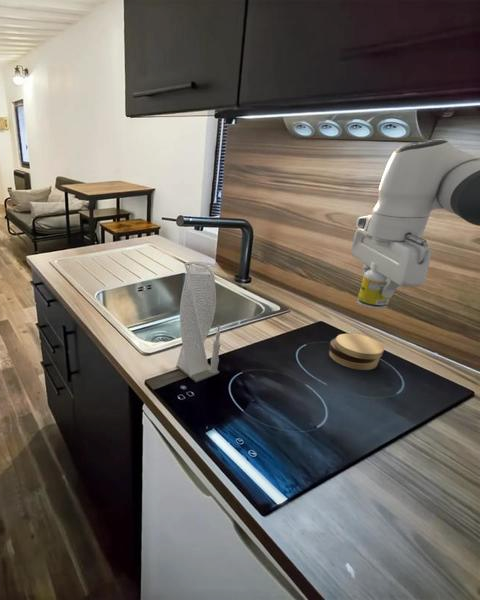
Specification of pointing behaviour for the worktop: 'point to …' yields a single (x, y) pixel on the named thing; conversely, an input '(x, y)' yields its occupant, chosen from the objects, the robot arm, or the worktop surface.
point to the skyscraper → (198, 321)
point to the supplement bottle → (373, 289)
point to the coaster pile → (356, 351)
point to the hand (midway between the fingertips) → (376, 289)
